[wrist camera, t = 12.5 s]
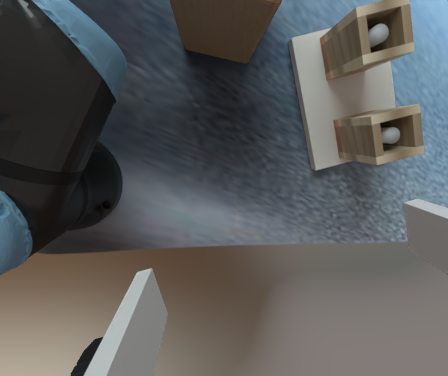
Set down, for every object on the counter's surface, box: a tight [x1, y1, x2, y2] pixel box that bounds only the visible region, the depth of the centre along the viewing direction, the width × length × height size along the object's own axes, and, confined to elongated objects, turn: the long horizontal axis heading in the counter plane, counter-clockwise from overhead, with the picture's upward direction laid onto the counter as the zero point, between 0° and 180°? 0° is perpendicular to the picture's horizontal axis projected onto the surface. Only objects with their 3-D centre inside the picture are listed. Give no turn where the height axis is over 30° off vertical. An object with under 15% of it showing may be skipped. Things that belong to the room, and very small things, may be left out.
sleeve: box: [333, 104, 424, 165], centre depth 38 cm, size 6×6×10 cm
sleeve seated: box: [320, 0, 414, 81], centre depth 35 cm, size 6×6×10 cm
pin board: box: [288, 24, 400, 170], centre depth 38 cm, size 14×20×11 cm
